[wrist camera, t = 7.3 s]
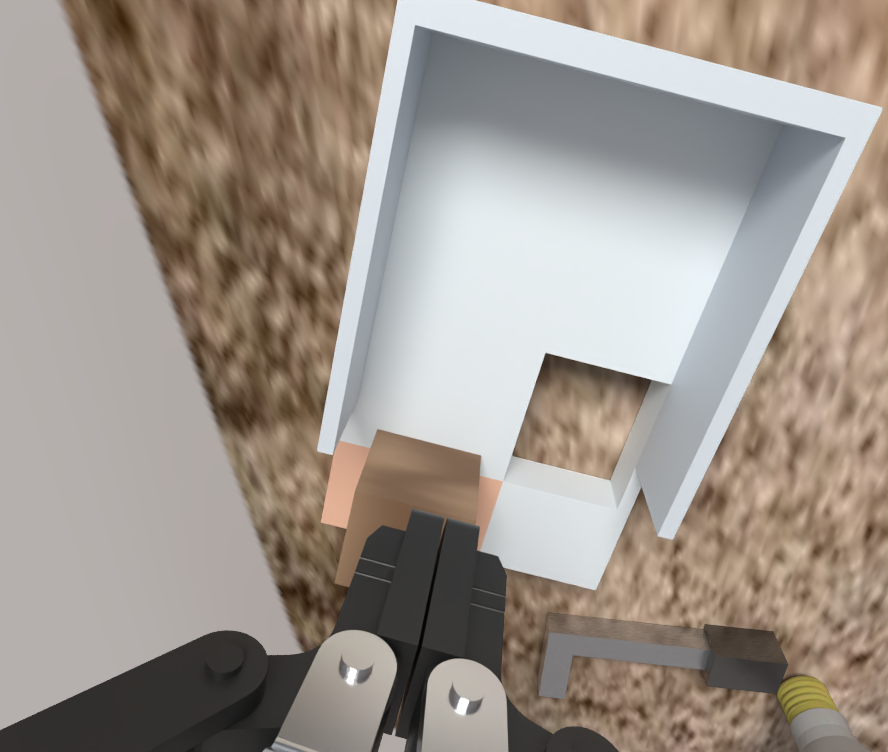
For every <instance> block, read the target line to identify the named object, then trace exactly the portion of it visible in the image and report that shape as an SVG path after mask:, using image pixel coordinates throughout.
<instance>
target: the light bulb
mask: <svg viewBox="0 0 888 752" xmlns="http://www.w3.org/2000/svg"><path fill="white" fill-rule="evenodd" d="M777 699H778V701H779V703H780V704H781V706H782V709H783V710H784V714H785V716H786V717H787V721H788V723H789V724H790V732H791V734H792V736H793V738H794V741H795V743H796V745H797V747H798V752H871V751H870V750H868V749H867V748H866V747H864V746H863V745H862V744H860V743H859V742H858V740H857V739H856V738H855V737H854V735H853V734H852V732H851V730H850V728H849V726H848V724H847V722H846V719H845V718H844V716H843V715H842V714H841V713H839V711H838V710H837V709H836V706H835V704H834V702H833V700H832V698H831V696H830V695H829V692H828V690H827V689H826V687H825V685H824V684H823V683H822V682H821V681H819V680H818V679H816V678H813V677H810V676H797V677H793V678H790V679H788V680H786V681H784V682H783V683H782V684H781V685H780V687H779V690H778V692H777Z"/></svg>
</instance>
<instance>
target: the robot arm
mask: <svg viewBox="0 0 888 752" xmlns="http://www.w3.org/2000/svg"><path fill="white" fill-rule="evenodd" d="M443 523H444V516H440V515H436V514H433V513H429V512H425V511H421V510H418V509H414V508H412V511H411V515H410V518H409V522H408V525H407V529H406V531H403V530H399V529H395V528H392V527H388V526H384V525H382V526H380V527H379V528H378V529H377V530H376V531H375V532H374V533H372V534H371V535H370V536H369V537H368V538H367V540H366V542H365V545H364V548H363V551H362V553H361V556H360V559H359V562H358V564H357V567H356V570H355V573H354V575H353V578H352V581H351V584H350V586H349V589H348V592H347V595H346V597H345V600H344V603H343V606H342V608H341V611H340V614H339V617H338V619H337V622H336V625H335V628H334V630H333V632H332V634H331V635H330V636H329V638H328V639H327V640H326V641H325V642H324V643H322V644H321V645H320V646H318V647H316V648H314V649H312V650H310V651H307V652H305V653H300V654H294V655H267V654H266V651H265V649H264V648H263V646H262V645H261V644H260V643H259V642H258V641H257V640H256V639H255V638H253V637H251V636H249V635H247V634H245V633H241V632H237V631H218V632H213V633H210V634H207V635H204V636H202V637H200V638H198V639H196V640H193V641H191V642H189V643H187V644H185V645H183V646H181V647H178V648H176V649H174V650H172V651H170V652H168V653H166V654H163V655H161V656H159V657H157V658H155V659H153V660H150V661H148V662H146V663H144V664H142V665H140V666H137V667H136V668H133V669H131V670H129V671H127V672H125V673H122V674H120V675H118V676H116V677H114V678H112V679H110V680H107V681H105V682H103V683H101V684H99V685H97V686H94V687H92V688H90V689H88V690H86V691H84V692H81V693H79V694H77V695H75V696H73V697H71V698H69V699H66V700H64V701H62V702H60V703H58V704H56V705H53V706H51V707H49V708H47V709H45V710H43V711H41V712H38V713H36V714H34V715H32V716H30V717H28V718H26V719H23V720H21V721H19V722H17V723H15V724H13V725H11V726H8V727H6V728H4V729H2V730H0V752H378V749H379V746H380V742H381V739H382V735H383V733H386V734H389V735H392V732H393V728H394V725H395V721H396V718H397V715H398V711H399V708H400V705H401V701H402V698H403V701H402V706H401V710H400V715H399V720H398V724H397V729H396V734H395V736H397V737H401V738H405V739H407V741H406V746H405V751H404V752H619V751H618V750H617V749H616V748H615V747H614V746H613V745H612V744H611V743H610V742H609V741H608V740H607V739H606V738H604V737H603V736H601V735H600V734H598V733H596V732H594V731H592V730H589V729H587V728H583V727H574V726H572V727H566V728H563V729H560V730H558V731H557V732H555V733H554V734H552V733H550V732H548V731H547V730H545V729H543V728H542V727H540V726H539V725H537V724H535V723H534V722H532V721H530V720H529V719H528V718H526V717H525V716H524V715H522V714H521V713H520V712H519V711H518V710H517V709H516V708H515V707H514V706H513V704H512V703H511V702H510V700H509V699H508V697H507V695H506V693H505V691H504V688H503V686H502V681H501V662H502V646H503V629H504V611H505V595H506V579H507V575H506V573H505V571H504V568H503V566H502V564H501V561H500V559H499V557H498V556H496V555H492V554H488V553H485V552H481V551H477V547H478V539H479V531H480V526H478V525H474V524H470V523H467V522H463V521H459V520H455V519H452V518H448V517H447V519H446V522H445V526H444V529H443V532H442V527H443ZM441 532H442V536H441ZM440 537H441V539H440ZM439 542H440V543H439ZM404 691H405V692H404ZM403 695H404V696H403Z"/></svg>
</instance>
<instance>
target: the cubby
mask: <svg viewBox="0 0 888 752" xmlns="http://www.w3.org/2000/svg"><path fill="white" fill-rule="evenodd" d="M882 109H883V108H882V107H878V106H875V105H871V104H867V103H863V102H859V101H856V100H852V99H848V98H844V97H840V96H837V95H833V94H829V93H825V92H821V91H818V90H814V89H810V88H806V87H802V86H799V85H795V84H791V83H787V82H783V81H780V80H776V79H772V78H768V77H764V76H761V75H757V74H753V73H749V72H746V71H742V70H738V69H734V68H730V67H727V66H723V65H719V64H715V63H711V62H708V61H704V60H700V59H696V58H692V57H689V56H685V55H681V54H677V53H673V52H670V51H666V50H662V49H658V48H654V47H651V46H647V45H643V44H639V43H635V42H632V41H628V40H624V39H620V38H616V37H613V36H609V35H605V34H601V33H598V32H594V31H590V30H586V29H582V28H579V27H575V26H571V25H567V24H563V23H560V22H556V21H552V20H548V19H544V18H541V17H537V16H533V15H529V14H525V13H522V12H518V11H514V10H510V9H506V8H503V7H499V6H495V5H491V4H487V3H484V2H480V1H476V0H398V2H397V7H396V13H395V18H394V24H393V29H392V35H391V41H390V46H389V52H388V57H387V63H386V69H385V74H384V80H383V85H382V91H381V97H380V102H379V108H378V113H377V119H376V125H375V130H374V136H373V141H372V147H371V152H370V158H369V164H368V169H367V175H366V180H365V186H364V192H363V197H362V203H361V208H360V214H359V220H358V225H357V231H356V236H355V242H354V248H353V253H352V259H351V264H350V270H349V276H348V281H347V287H346V292H345V298H344V303H343V309H342V315H341V320H340V326H339V331H338V337H337V343H336V348H335V354H334V359H333V365H332V371H331V376H330V382H329V387H328V393H327V399H326V404H325V410H324V415H323V421H322V427H321V432H320V438H319V443H318V449H317V451H318V452H322V453H326V454H330V455H333V453H334V457H333V462H332V467H331V472H330V478H329V483H328V488H327V493H326V498H325V504H324V509H323V514H322V519H321V523H325V524H329V525H333V526H337V527H341V528H346V529H347V525H348V520H349V516H350V511H351V507H352V502H353V498H354V493H355V489H356V487H357V484H358V481H359V478H360V476H361V473H362V470H363V467H364V465H365V462H366V459H367V456H368V454H369V451H370V448H371V445H372V443H373V440H374V437H375V434H376V432H377V429H380V430H384V431H387V432H391V433H395V434H399V435H403V436H407V437H411V438H415V439H419V440H423V441H427V442H430V443H434V444H438V445H442V446H446V447H450V448H454V449H458V450H462V451H466V452H470V453H474V454H477V455H481V464H480V478H479V492H478V506H477V519H476V524H475V525H478V526H480V531H479V539H478V547H477V551H481V552H485V553H488V554H492V555H496V556H498V557H499V559H500V561H501V564H502V566H503V568H507V569H511V570H515V571H519V572H523V573H527V574H531V575H536V576H540V577H544V578H548V579H552V580H556V581H560V582H564V583H568V584H572V585H576V586H580V587H584V588H588V589H592V590H596V588H597V586H598V584H599V582H600V579H601V577H602V575H603V573H604V570H605V568H606V566H607V564H608V561H609V559H610V557H611V555H612V552H613V550H614V548H615V545H616V543H617V541H618V539H619V536H620V534H621V532H622V530H623V527H624V525H625V523H626V521H627V518H628V516H629V514H630V512H631V509H632V507H633V505H634V503H635V500H636V498H637V496H638V493H639V491H640V489H641V487H642V489H643V492H644V495H645V499H646V502H647V505H648V508H649V511H650V514H651V518H652V521H653V524H654V527H655V530H656V533H657V536H659V537H663V538H667V539H671V540H673V538H674V536H675V534H676V532H677V530H678V528H679V526H680V524H681V522H682V520H683V518H684V516H685V513H686V511H687V509H688V507H689V505H690V503H691V501H692V499H693V497H694V495H695V493H696V491H697V489H698V487H699V485H700V483H701V481H702V479H703V477H704V475H705V472H706V470H707V468H708V466H709V464H710V462H711V460H712V458H713V456H714V454H715V452H716V450H717V448H718V446H719V444H720V442H721V440H722V438H723V436H724V433H725V431H726V429H727V427H728V425H729V423H730V421H731V419H732V417H733V415H734V413H735V411H736V409H737V407H738V405H739V403H740V401H741V399H742V397H743V395H744V392H745V390H746V388H747V386H748V384H749V382H750V380H751V378H752V376H753V374H754V372H755V370H756V368H757V366H758V364H759V362H760V360H761V358H762V356H763V354H764V351H765V349H766V347H767V345H768V343H769V341H770V339H771V337H772V335H773V333H774V331H775V329H776V327H777V325H778V323H779V321H780V319H781V317H782V315H783V312H784V310H785V308H786V306H787V304H788V302H789V300H790V298H791V296H792V294H793V292H794V290H795V288H796V286H797V284H798V282H799V280H800V278H801V276H802V274H803V271H804V269H805V267H806V265H807V263H808V261H809V259H810V257H811V255H812V253H813V251H814V249H815V247H816V245H817V243H818V241H819V239H820V237H821V235H822V233H823V230H824V228H825V226H826V224H827V222H828V220H829V218H830V216H831V214H832V212H833V210H834V208H835V206H836V204H837V202H838V200H839V198H840V196H841V194H842V191H843V189H844V187H845V185H846V183H847V181H848V179H849V177H850V175H851V173H852V171H853V169H854V167H855V165H856V163H857V161H858V159H859V157H860V155H861V153H862V150H863V148H864V146H865V144H866V142H867V140H868V138H869V136H870V134H871V132H872V130H873V128H874V126H875V124H876V122H877V120H878V118H879V116H880V114H881V112H882ZM545 353H549V354H552V355H556V356H560V357H564V358H568V359H572V360H576V361H580V362H584V363H588V364H592V365H596V366H600V367H604V368H608V369H612V370H615V371H619V372H623V373H627V374H631V375H635V376H639V377H643V378H647V379H651V380H652V381H651V383H650V386H649V388H648V390H647V393H646V395H645V398H644V400H643V402H642V405H641V407H640V410H639V412H638V414H637V417H636V419H635V422H634V424H633V426H632V429H631V431H630V434H629V436H628V439H627V441H626V443H625V446H624V448H623V451H622V453H621V455H620V458H619V460H618V463H617V465H616V467H615V470H614V472H613V475H612V477H611V479H610V480H606V479H602V478H598V477H594V476H590V475H586V474H582V473H578V472H574V471H570V470H566V469H562V468H558V467H554V466H550V465H546V464H542V463H538V462H534V461H530V460H526V459H522V458H518V457H514V456H512V453H513V450H514V447H515V444H516V441H517V438H518V435H519V431H520V428H521V425H522V422H523V419H524V416H525V413H526V410H527V407H528V404H529V401H530V398H531V395H532V392H533V389H534V386H535V383H536V380H537V377H538V374H539V371H540V368H541V365H542V362H543V359H544V356H545ZM334 451H335V452H334Z"/></svg>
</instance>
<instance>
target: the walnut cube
mask: <svg viewBox="0 0 888 752" xmlns="http://www.w3.org/2000/svg"><path fill="white" fill-rule="evenodd" d="M480 464H481V455H477V454H474V453H470V452H466V451H462V450H458V449H454V448H450V447H446V446H442V445H438V444H434V443H430V442H427V441H423V440H419V439H415V438H411V437H407V436H403V435H399V434H395V433H391V432H387V431H384V430H380V429H377V432H376V434H375V437H374V440H373V443H372V445H371V448H370V451H369V454H368V456H367V459H366V462H365V465H364V467H363V470H362V473H361V476H360V478H359V481H358V484H357V487H356V489H355V493H354V498H353V502H352V507H351V511H350V516H349V520H348V525H347V529H346V534H345V538H344V543H343V547H342V552H341V556H340V561H339V565H338V570H337V574H336V579H335V584H339V585H343V586H347V587H349V586H350V584H351V581H352V578H353V575H354V573H355V570H356V567H357V564H358V562H359V559H360V556H361V553H362V551H363V548H364V545H365V542H366V540H367V538H368V537H369V536H370V535H371V534H372V533H374V532H375V531H376V530H377V529H378V528H379V527H380V526H382V525H384V526H388V527H392V528H395V529H399V530H403V531H406V529H407V525H408V522H409V518H410V515H411V511H412V508H414V509H418V510H421V511H425V512H429V513H433V514H436V515H440V516H444V523H443V527H442V532H443V529H444V526H445V522H446V519H447V517H448V518H452V519H455V520H459V521H463V522H467V523H470V524H474V525H475V524H476V519H477V506H478V492H479V478H480ZM442 532H441V536H442ZM440 539H441V537H440ZM439 543H440V542H439Z"/></svg>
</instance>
